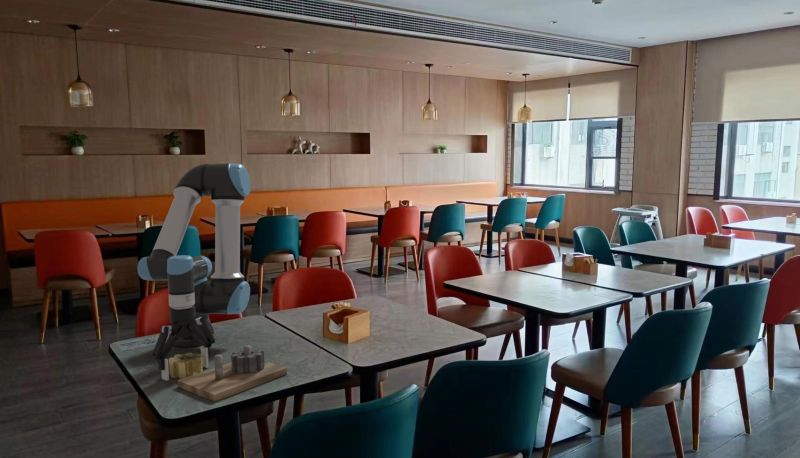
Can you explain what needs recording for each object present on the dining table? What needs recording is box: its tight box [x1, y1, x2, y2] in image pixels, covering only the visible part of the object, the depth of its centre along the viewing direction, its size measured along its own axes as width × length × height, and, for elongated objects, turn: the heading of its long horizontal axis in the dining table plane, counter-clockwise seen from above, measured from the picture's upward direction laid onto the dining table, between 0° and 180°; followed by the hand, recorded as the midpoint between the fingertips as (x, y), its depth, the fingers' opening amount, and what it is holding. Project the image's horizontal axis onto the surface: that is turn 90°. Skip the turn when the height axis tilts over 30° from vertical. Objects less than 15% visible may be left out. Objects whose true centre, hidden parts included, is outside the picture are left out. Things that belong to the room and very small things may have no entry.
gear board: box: [177, 344, 288, 403], centre depth 180 cm, size 18×26×9 cm
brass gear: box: [168, 352, 204, 380], centre depth 187 cm, size 10×10×5 cm
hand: (185, 373), depth 187 cm, fingers open, 13 cm apart
